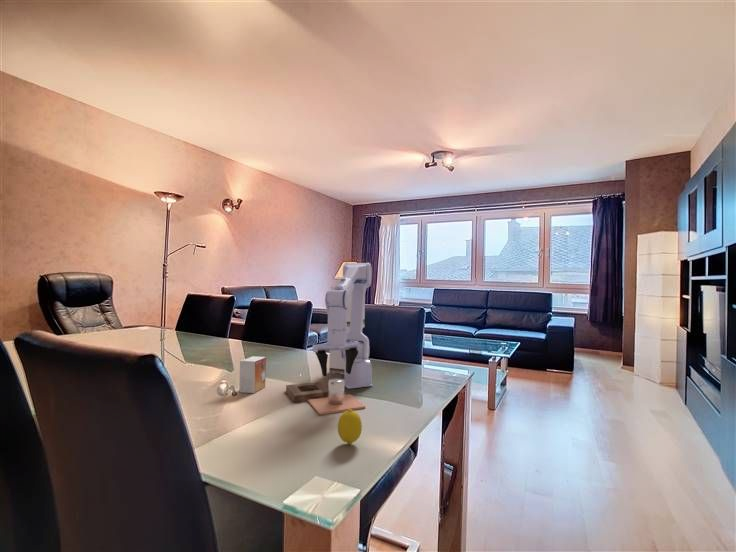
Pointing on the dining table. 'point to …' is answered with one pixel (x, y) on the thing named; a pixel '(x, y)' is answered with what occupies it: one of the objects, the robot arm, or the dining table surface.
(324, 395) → the bore block
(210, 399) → the dining table surface
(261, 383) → the small box
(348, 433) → the lemon
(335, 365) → the white tall column
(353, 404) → the tile
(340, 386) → the end cover
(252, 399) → the dining table surface
